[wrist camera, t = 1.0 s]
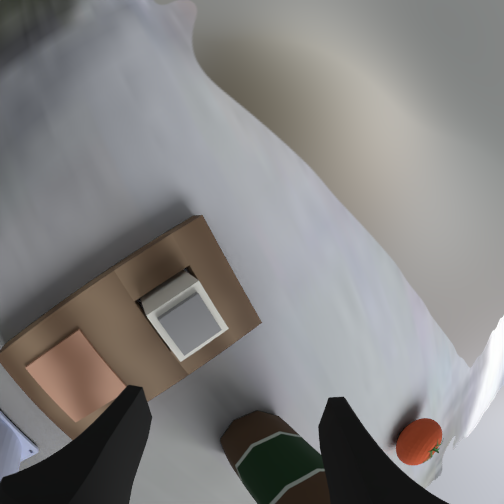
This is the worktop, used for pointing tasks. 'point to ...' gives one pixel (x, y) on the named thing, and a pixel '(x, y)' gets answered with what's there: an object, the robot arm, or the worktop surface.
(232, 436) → the beer bottle
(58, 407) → the brown wooden flat block
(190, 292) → the plug
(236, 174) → the worktop surface
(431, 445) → the tomato
